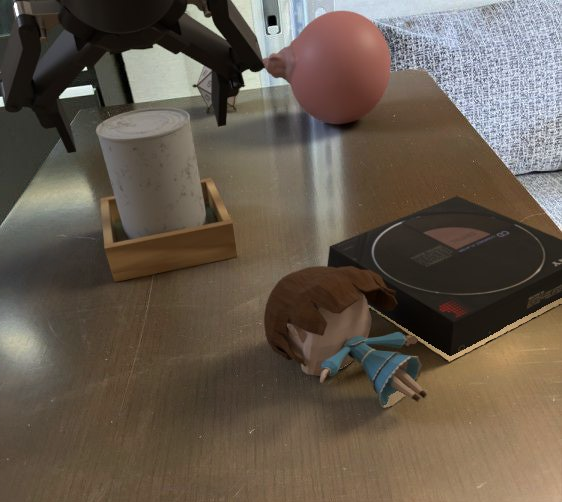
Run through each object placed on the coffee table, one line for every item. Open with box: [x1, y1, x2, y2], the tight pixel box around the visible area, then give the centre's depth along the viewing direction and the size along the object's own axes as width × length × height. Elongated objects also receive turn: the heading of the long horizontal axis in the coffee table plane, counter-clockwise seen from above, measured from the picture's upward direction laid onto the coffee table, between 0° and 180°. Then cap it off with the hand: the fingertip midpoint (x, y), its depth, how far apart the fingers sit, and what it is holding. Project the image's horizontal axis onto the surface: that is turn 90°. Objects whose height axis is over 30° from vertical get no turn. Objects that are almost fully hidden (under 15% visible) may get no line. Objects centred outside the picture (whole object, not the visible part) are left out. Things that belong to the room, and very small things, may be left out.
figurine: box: [263, 265, 428, 409], centre depth 48 cm, size 11×10×15 cm
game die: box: [191, 65, 246, 114], centre depth 107 cm, size 9×8×10 cm
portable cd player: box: [326, 195, 562, 356], centre depth 58 cm, size 16×17×4 cm
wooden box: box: [99, 177, 239, 283], centre depth 71 cm, size 13×13×4 cm
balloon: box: [262, 10, 392, 125], centre depth 95 cm, size 15×20×15 cm
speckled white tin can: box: [95, 107, 209, 240], centre depth 67 cm, size 10×10×12 cm
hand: (145, 125), depth 56 cm, fingers open, 13 cm apart
